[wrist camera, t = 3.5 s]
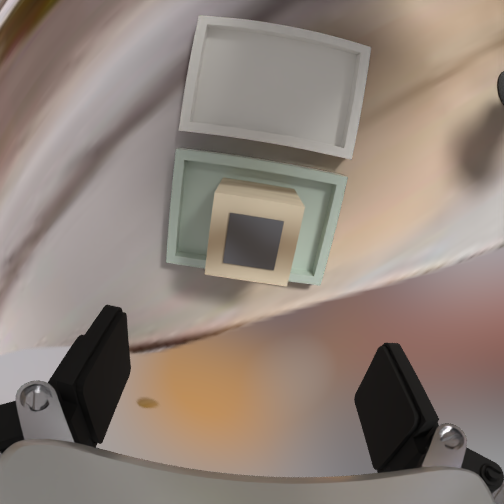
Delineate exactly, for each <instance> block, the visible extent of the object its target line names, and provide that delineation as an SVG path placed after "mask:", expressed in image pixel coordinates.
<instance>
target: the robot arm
mask: <svg viewBox="0 0 504 504" xmlns="http://www.w3.org/2000/svg"><path fill="white" fill-rule="evenodd" d="M130 369H131V365H130V354H129V343H128V329H127V315H126V313H124V312H122V308H120V307H115V306H110V305H106V306H105V307H104V308H103V309H102V311H101V312H100V314H99V315H98V316H97V318H96V319H95V321H94V322H93V324H92V325H91V327H90V328H89V329H88V331H87V332H86V334H85V335H80V336H79V337H78V338H77V339H76V341H75V342H74V344H73V345H72V346H71V348H70V349H69V351H68V352H67V354H66V355H65V357H64V358H63V360H62V361H61V363H60V364H59V366H58V368H57V369H56V371H55V372H54V374H53V375H52V377H51V378H50V380H49V382H48V383H46V382H43V381H31V382H28V383H26V384H24V385H22V386H21V387H20V388H19V390H18V391H17V394H16V401H13V402H9V403H6V404H2V405H0V504H504V482H503V481H504V475H503V472H502V469H501V468H500V466H499V465H498V464H496V463H495V462H493V461H491V460H489V459H487V458H485V457H483V456H482V455H480V454H478V453H476V452H474V451H472V450H470V449H468V448H467V438H466V435H465V434H464V432H463V431H462V430H461V429H460V428H459V427H457V426H456V425H453V424H449V423H445V424H441V425H440V426H439V425H438V420H439V418H438V416H437V414H436V412H435V411H434V408H433V406H432V404H431V402H430V400H429V398H428V396H427V394H426V392H425V390H424V388H423V387H422V385H421V383H420V381H419V379H418V377H417V375H416V373H415V371H414V370H413V368H412V366H411V364H410V362H409V360H408V358H407V357H406V355H405V353H404V351H403V349H402V348H401V346H400V344H398V343H384V344H383V345H382V346H380V347H379V348H378V350H377V352H376V354H375V356H374V358H373V360H372V362H371V364H370V366H369V368H368V370H367V372H366V374H365V376H364V379H363V380H362V382H361V384H360V386H359V388H358V390H357V392H356V394H355V399H354V400H355V405H356V408H357V412H358V415H359V419H360V422H361V425H362V429H363V432H364V436H365V439H366V443H367V446H368V450H369V454H370V457H371V461H372V465H373V467H374V469H375V470H377V472H378V473H373V474H363V475H351V476H335V477H264V476H250V475H249V476H248V475H238V474H227V473H218V472H210V471H202V470H196V469H189V468H183V467H177V466H172V465H167V464H162V463H157V462H152V461H148V460H143V459H138V458H134V457H130V456H126V455H122V454H118V453H114V452H110V451H107V450H103V449H99V448H96V445H97V443H99V444H101V443H102V442H103V439H104V437H105V435H106V432H107V429H108V427H109V424H110V422H111V419H112V417H113V414H114V412H115V409H116V407H117V404H118V402H119V399H120V397H121V394H122V392H123V389H124V387H125V384H126V382H127V380H128V378H129V375H130Z"/></svg>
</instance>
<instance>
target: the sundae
mask: <svg viewBox="0 0 504 504" xmlns="http://www.w3.org/2000/svg"><path fill="white" fill-rule="evenodd" d="M498 90H499V95H500V98H501V101H502V103H503V104H504V71H503V72H502V73H501V75H500V77H499V81H498Z"/></svg>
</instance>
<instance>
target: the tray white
mask: <svg viewBox="0 0 504 504" xmlns="http://www.w3.org/2000/svg"><path fill="white" fill-rule="evenodd" d="M370 53H371V47H369V46H366V45H363V44H360V43H356V42H353V41H349V40H346V39H342V38H339V37H335V36H331V35H327V34H323V33H319V32H315V31H310V30H306V29H301V28H296V27H291V26H286V25H280V24H274V23H268V22H262V21H254V20H247V19H238V18H228V17H217V16H201V15H199V17H198V22H197V27H196V31H195V36H194V41H193V46H192V51H191V56H190V62H189V67H188V73H187V79H186V84H185V90H184V97H183V103H182V110H181V116H180V123H179V131H186V132H195V133H204V134H212V135H220V136H227V137H235V138H241V139H248V140H254V141H261V142H267V143H272V144H278V145H284V146H289V147H294V148H299V149H304V150H309V151H314V152H319V153H324V154H328V155H333V156H337V157H341V158H346V159H350V160H352V156H353V151H354V146H355V141H356V136H357V131H358V125H359V120H360V115H361V109H362V103H363V98H364V92H365V86H366V80H367V73H368V67H369V60H370Z"/></svg>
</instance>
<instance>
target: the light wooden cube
mask: <svg viewBox="0 0 504 504" xmlns="http://www.w3.org/2000/svg"><path fill="white" fill-rule="evenodd" d="M304 209H305V206H304V204H303V203H302V201H301V199H300V198H299V196H298V194H297V193H296V191H295V189H292V188H286V187H280V186H275V185H269V184H263V183H257V182H250V181H244V180H237V179H231V178H224V177H223V178H222V180H221V182H220V184H219V185H218V187H217V189H216V191H215V193H214V200H213V208H212V215H211V223H210V231H209V240H208V248H207V257H206V266H205V275H212V276H218V277H225V278H231V279H238V280H245V281H252V282H258V283H265V284H272V285H280V286H287V284H288V280H289V276H290V272H291V267H292V263H293V259H294V255H295V250H296V246H297V241H298V237H299V232H300V228H301V223H302V219H303V214H304Z"/></svg>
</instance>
